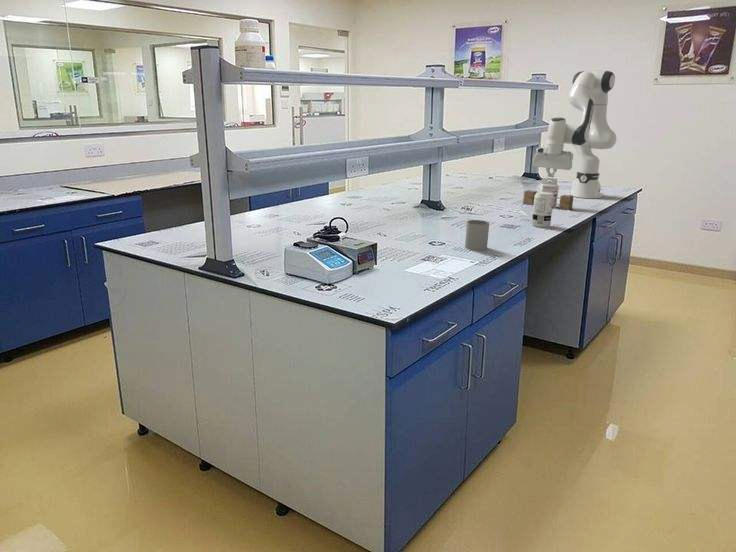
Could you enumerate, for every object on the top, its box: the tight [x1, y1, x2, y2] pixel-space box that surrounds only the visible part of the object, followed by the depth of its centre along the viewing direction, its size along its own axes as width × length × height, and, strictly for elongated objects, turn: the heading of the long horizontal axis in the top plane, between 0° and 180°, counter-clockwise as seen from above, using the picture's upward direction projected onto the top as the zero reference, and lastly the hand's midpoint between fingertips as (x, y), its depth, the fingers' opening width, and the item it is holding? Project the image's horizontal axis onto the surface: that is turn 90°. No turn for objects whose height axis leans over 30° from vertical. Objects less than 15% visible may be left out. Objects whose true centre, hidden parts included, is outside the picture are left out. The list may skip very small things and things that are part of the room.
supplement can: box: [531, 191, 554, 229], centre depth 257 cm, size 8×8×15 cm
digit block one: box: [558, 194, 575, 211], centre depth 298 cm, size 5×5×7 cm
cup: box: [464, 219, 490, 252], centre depth 217 cm, size 8×8×10 cm
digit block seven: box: [522, 189, 538, 206], centre depth 310 cm, size 5×5×7 cm
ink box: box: [539, 177, 559, 208], centre depth 303 cm, size 9×5×15 cm, turn 84°
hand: (550, 176), depth 300 cm, fingers closed
